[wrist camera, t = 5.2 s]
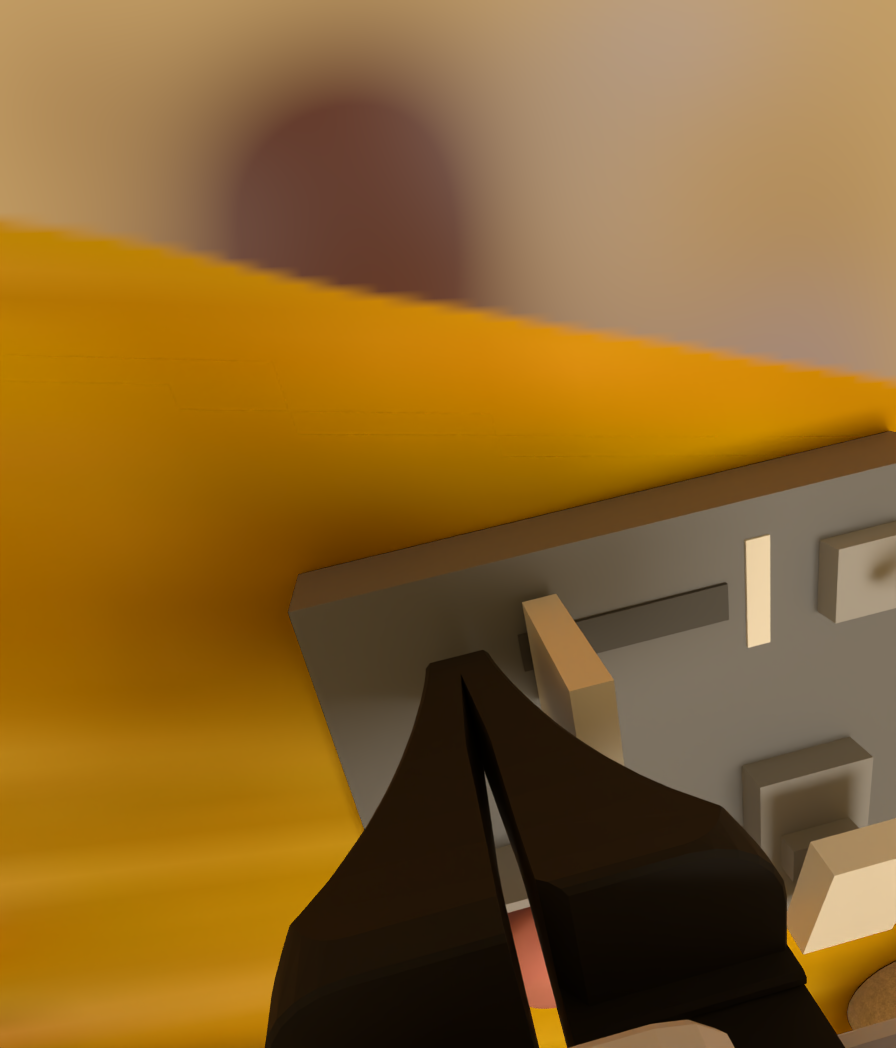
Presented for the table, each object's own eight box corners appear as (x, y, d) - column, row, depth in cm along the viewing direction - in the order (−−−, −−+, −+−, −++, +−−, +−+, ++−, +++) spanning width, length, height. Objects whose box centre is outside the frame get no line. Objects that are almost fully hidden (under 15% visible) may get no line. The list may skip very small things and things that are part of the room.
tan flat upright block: (572, 700, 14) (629, 807, 11) (540, 708, 14) (589, 819, 11) (556, 593, 13) (613, 679, 10) (522, 602, 13) (569, 691, 10)
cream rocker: (869, 898, 16) (891, 928, 16) (783, 921, 16) (803, 954, 16) (909, 814, 14) (938, 846, 13) (810, 841, 14) (834, 875, 13)
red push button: (588, 924, 17) (612, 992, 15) (501, 947, 17) (516, 1019, 15) (577, 860, 16) (601, 925, 14) (485, 886, 16) (499, 954, 14)
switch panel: (861, 815, 20) (958, 914, 17) (420, 937, 19) (430, 1066, 16) (889, 430, 15) (1037, 463, 12) (298, 574, 14) (276, 651, 11)
